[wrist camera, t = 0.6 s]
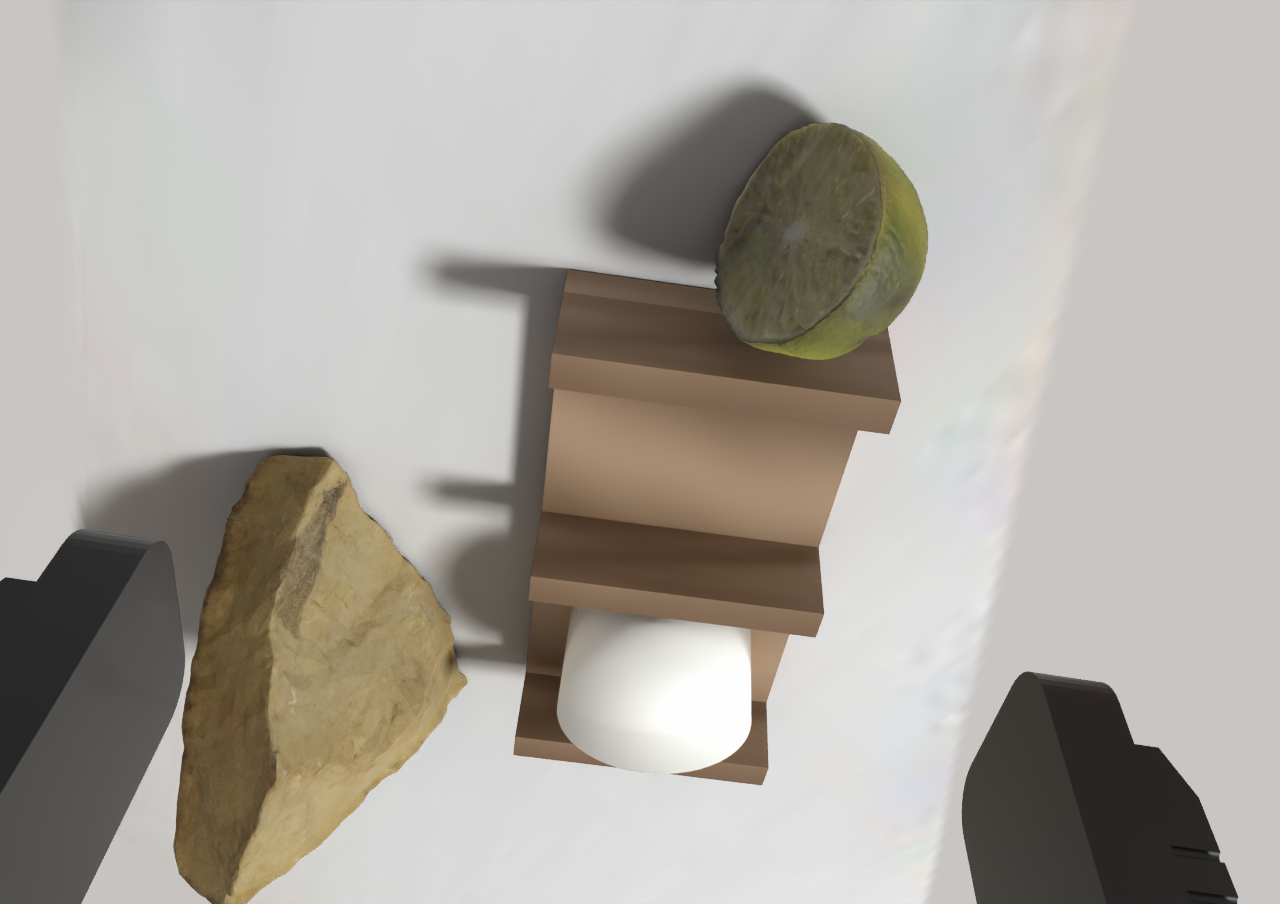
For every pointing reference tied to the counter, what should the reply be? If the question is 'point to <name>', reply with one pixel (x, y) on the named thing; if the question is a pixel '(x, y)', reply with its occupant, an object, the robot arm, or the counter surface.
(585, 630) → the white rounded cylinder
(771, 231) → the lime
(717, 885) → the counter surface
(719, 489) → the rack
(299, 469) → the rock
